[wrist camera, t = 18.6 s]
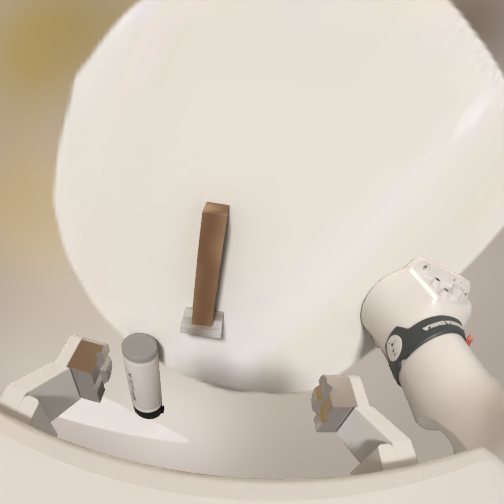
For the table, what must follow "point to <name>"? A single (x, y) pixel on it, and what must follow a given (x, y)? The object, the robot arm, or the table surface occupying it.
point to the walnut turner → (207, 275)
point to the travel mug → (143, 374)
